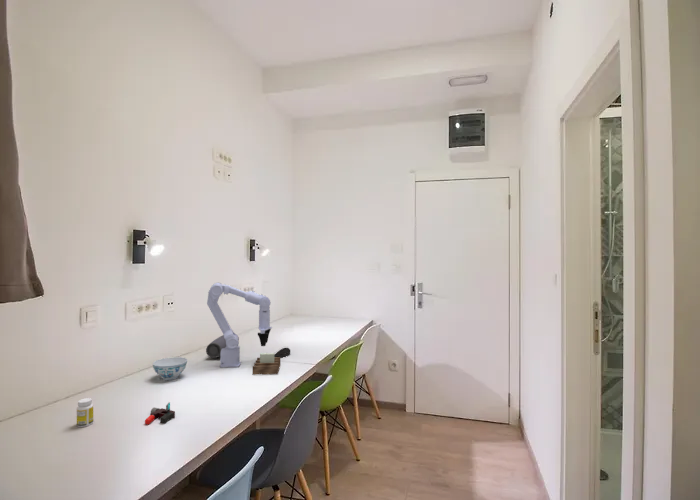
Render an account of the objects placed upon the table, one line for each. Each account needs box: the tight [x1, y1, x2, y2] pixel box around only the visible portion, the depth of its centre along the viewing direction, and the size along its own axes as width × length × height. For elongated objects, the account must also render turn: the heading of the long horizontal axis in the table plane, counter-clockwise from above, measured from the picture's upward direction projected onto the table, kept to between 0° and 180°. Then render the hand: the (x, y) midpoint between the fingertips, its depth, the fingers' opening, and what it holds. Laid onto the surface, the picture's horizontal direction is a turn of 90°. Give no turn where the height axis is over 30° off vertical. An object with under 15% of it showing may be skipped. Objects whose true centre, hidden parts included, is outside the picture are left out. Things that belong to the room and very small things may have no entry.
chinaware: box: [151, 356, 188, 381], centre depth 182 cm, size 15×15×8 cm
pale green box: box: [259, 352, 275, 363], centre depth 195 cm, size 7×2×7 cm, turn 95°
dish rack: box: [252, 357, 281, 375], centre depth 195 cm, size 12×15×4 cm
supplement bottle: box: [76, 397, 94, 428], centre depth 134 cm, size 5×5×8 cm
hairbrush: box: [274, 346, 291, 359], centre depth 216 cm, size 8×4×25 cm
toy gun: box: [144, 401, 176, 425], centre depth 138 cm, size 10×12×5 cm
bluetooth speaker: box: [205, 334, 226, 359], centre depth 223 cm, size 23×9×10 cm, turn 179°
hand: (264, 344), depth 207 cm, fingers open, 7 cm apart
